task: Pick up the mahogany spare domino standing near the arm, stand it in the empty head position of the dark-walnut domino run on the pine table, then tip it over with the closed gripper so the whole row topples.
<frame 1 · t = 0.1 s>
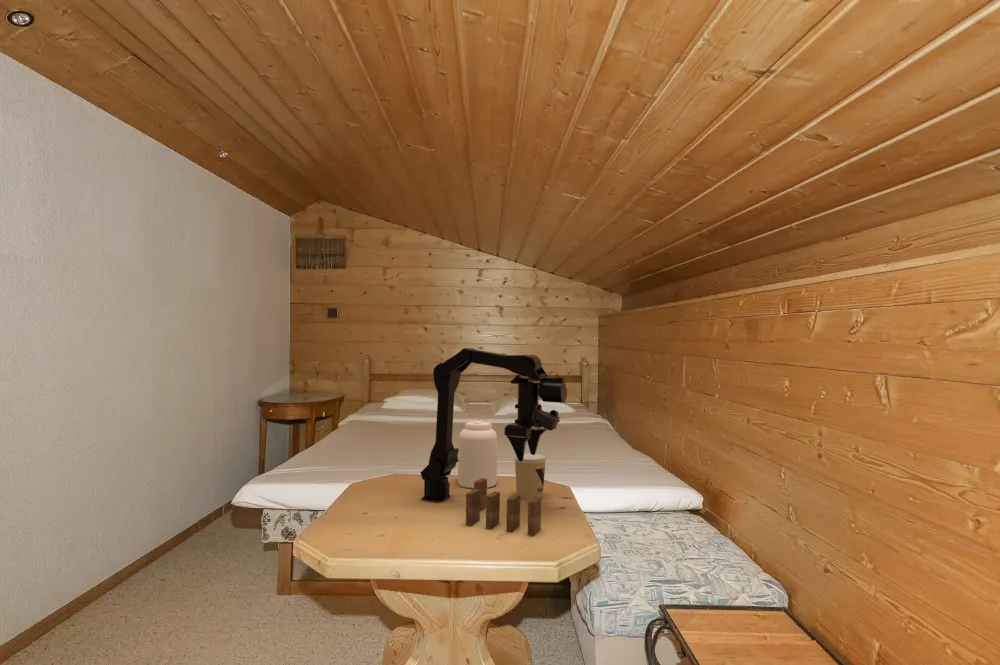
hand: (527, 457, 155), 15 cm above the table, fingers open, 9 cm apart
domino 5: (534, 532, 138), on the table
domino 3: (492, 526, 142), on the table
domino 2: (472, 522, 144), on the table
white lidded jar: (477, 484, 182), on the table
coffee cup: (529, 497, 169), on the table
domino 4: (513, 529, 140), on the table
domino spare: (480, 509, 156), on the table
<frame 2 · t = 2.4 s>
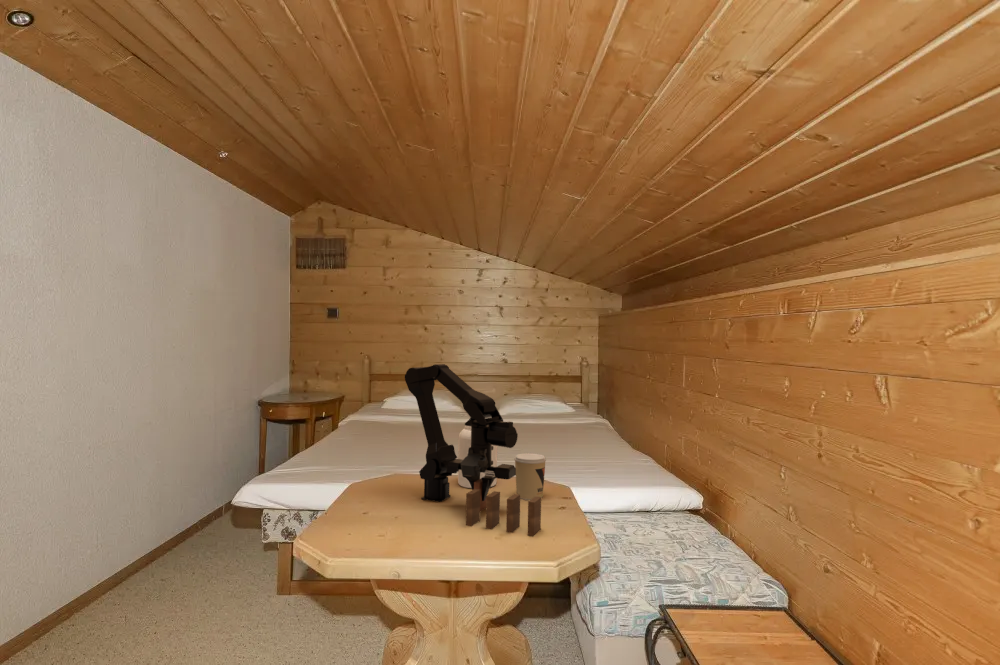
hand: (480, 500, 156), 3 cm above the table, fingers closed on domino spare, 2 cm apart
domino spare: (480, 509, 156), on the table, touching gripper
everything else where it was.
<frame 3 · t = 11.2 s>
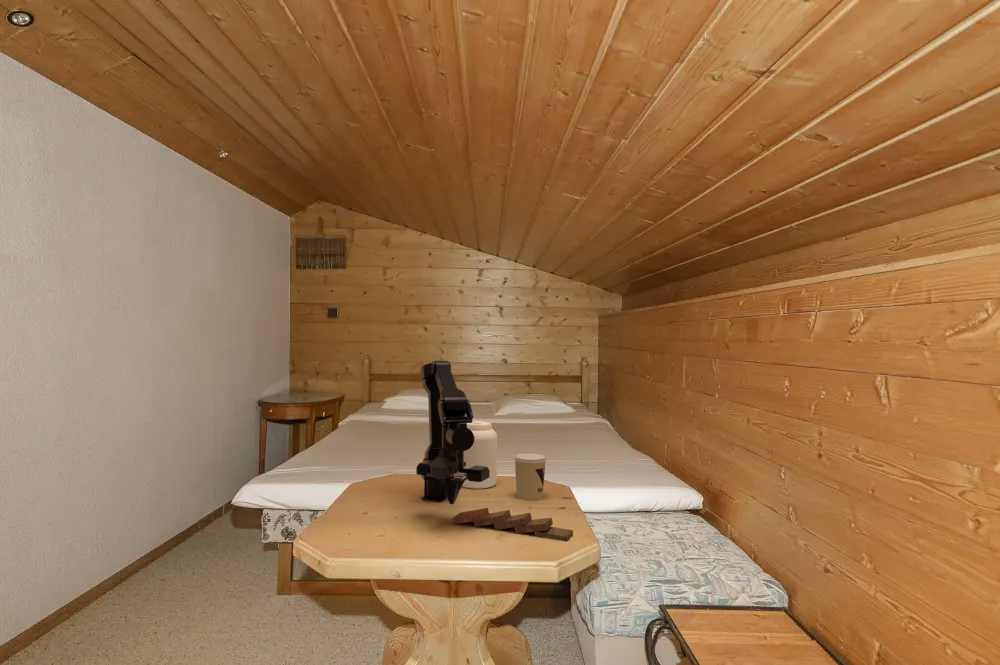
hand: (452, 504, 147), 4 cm above the table, fingers closed
domino 5: (538, 531, 138), on the table, tilted 90°, touching domino 4
domino 3: (498, 523, 142), point 1 cm above the table, tilted 73°, touching domino 2, domino 4
domino 2: (478, 520, 144), point 1 cm above the table, tilted 73°, touching domino 3, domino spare
domino 4: (518, 527, 140), point 1 cm above the table, tilted 77°, touching domino 3, domino 5
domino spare: (456, 518, 145), point 1 cm above the table, tilted 74°, touching domino 2
everything else where it was.
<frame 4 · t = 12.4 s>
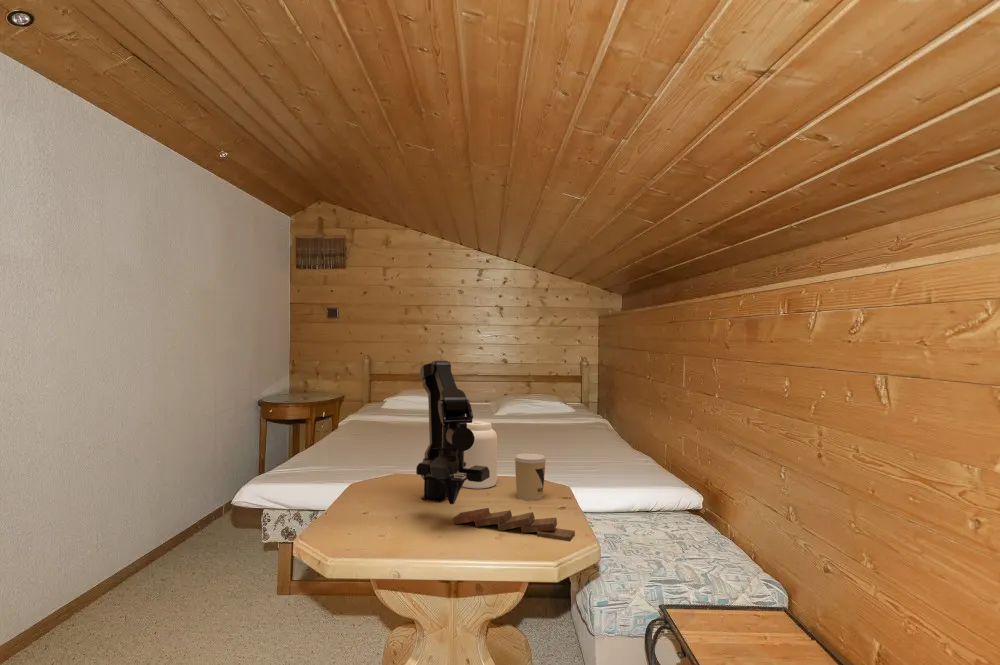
hand: (452, 504, 147), 4 cm above the table, fingers closed
domino 3: (501, 524, 141), point 1 cm above the table, tilted 72°, touching domino 4
domino 2: (479, 520, 144), point 1 cm above the table, tilted 74°, touching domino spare
domino 4: (523, 526, 140), point 1 cm above the table, tilted 80°, touching domino 3, domino 5
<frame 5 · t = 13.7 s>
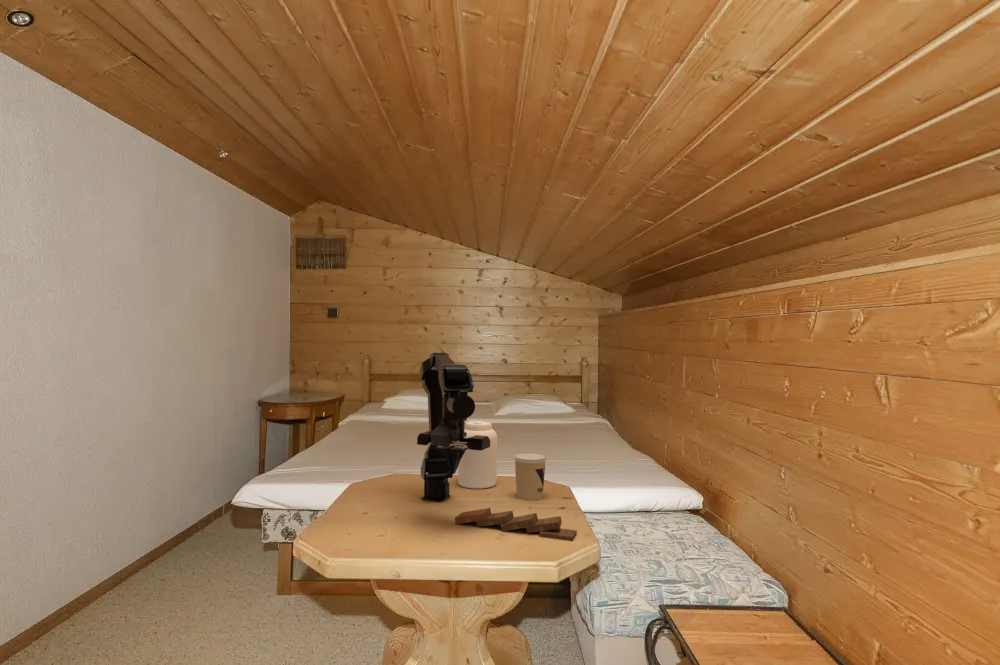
hand: (452, 473, 147), 12 cm above the table, fingers closed
domino 3: (504, 525, 141), point 1 cm above the table, tilted 73°, touching domino 2, domino 4
domino 2: (480, 520, 144), point 1 cm above the table, tilted 75°, touching domino 3, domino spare
domino 4: (528, 526, 139), point 1 cm above the table, tilted 77°, touching domino 3, domino 5
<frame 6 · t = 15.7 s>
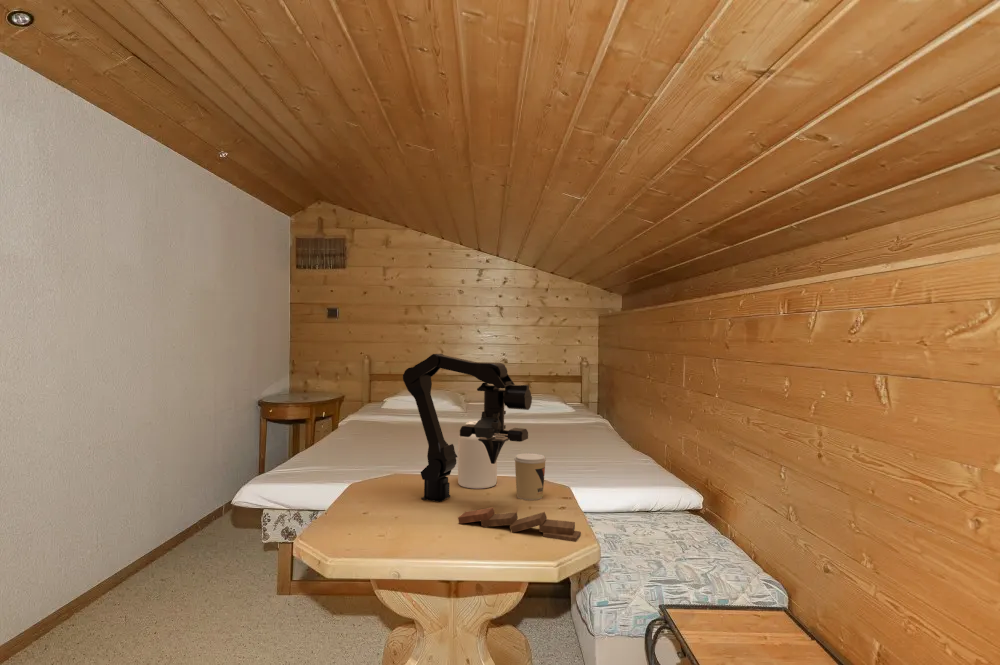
hand: (493, 463, 159), 12 cm above the table, fingers closed
domino 3: (514, 526, 140), point 1 cm above the table, tilted 68°, touching domino 2, domino 4
domino 2: (484, 520, 144), point 1 cm above the table, tilted 79°, touching domino 3, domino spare
domino 4: (540, 525, 138), point 2 cm above the table, tilted 91°, touching domino 3, domino 5
at the end: domino 5 tilted 90°; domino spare tilted 78°; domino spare inside the target area (1.6 cm from its centre), point 0.8 cm above the table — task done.
